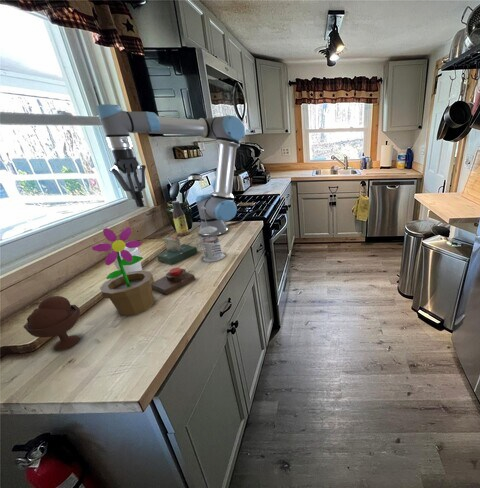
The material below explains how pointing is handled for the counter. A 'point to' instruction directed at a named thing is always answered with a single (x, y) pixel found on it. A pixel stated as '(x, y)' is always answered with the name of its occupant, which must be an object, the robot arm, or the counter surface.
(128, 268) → the foam cup
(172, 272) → the red button
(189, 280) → the button block
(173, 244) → the gray upright block
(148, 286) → the flowerpot
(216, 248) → the french press
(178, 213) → the sauce bottle
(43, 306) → the ice cream bowl
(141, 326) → the counter surface
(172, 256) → the panel
